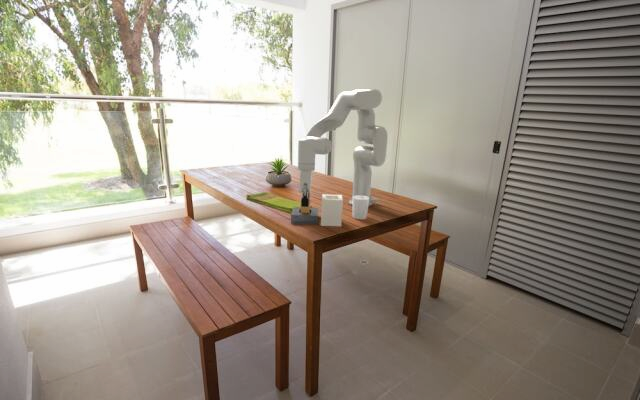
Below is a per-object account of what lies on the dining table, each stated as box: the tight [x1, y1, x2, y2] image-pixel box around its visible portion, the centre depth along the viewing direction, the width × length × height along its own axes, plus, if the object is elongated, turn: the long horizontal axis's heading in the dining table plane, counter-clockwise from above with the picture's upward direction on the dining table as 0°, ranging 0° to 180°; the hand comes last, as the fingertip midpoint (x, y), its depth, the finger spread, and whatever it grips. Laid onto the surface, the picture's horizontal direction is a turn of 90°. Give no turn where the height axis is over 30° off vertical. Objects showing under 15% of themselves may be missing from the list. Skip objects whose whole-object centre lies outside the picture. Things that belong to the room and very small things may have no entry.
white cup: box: [351, 195, 369, 220], centre depth 156 cm, size 8×8×10 cm
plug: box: [300, 196, 311, 213], centre depth 151 cm, size 4×4×9 cm
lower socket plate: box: [290, 206, 319, 225], centre depth 152 cm, size 12×12×4 cm
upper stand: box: [320, 193, 344, 227], centre depth 148 cm, size 9×9×12 cm
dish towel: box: [246, 191, 314, 214], centre depth 175 cm, size 15×36×3 cm, turn 51°
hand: (305, 203), depth 150 cm, fingers open, 9 cm apart
